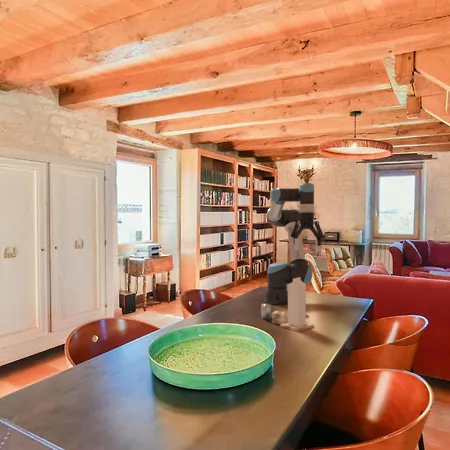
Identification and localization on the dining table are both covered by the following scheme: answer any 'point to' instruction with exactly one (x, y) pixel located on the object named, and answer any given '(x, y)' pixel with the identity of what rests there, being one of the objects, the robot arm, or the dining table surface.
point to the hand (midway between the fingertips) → (306, 251)
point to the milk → (297, 303)
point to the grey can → (266, 311)
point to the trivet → (295, 328)
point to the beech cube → (278, 317)
